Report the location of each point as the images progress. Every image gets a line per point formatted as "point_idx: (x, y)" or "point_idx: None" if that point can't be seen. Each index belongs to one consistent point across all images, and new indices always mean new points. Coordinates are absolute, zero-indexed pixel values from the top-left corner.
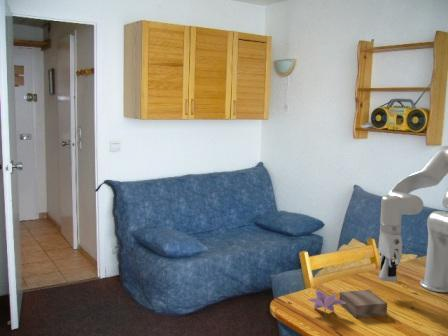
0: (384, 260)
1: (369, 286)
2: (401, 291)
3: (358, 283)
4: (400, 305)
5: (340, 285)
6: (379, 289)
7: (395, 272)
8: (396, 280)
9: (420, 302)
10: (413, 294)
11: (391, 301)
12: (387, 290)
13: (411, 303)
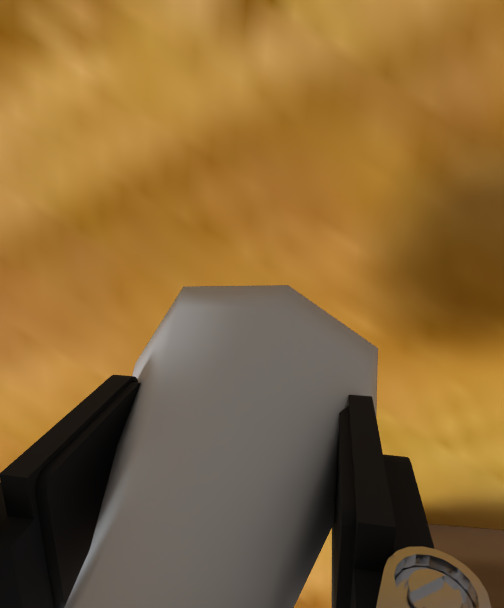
0: (27, 597)
1: (88, 354)
2: (198, 127)
3: (34, 405)
4: (487, 315)
5: None
6: (147, 308)
7: (376, 442)
8: (376, 358)
9: (472, 71)
10: (277, 36)
11: (391, 345)
12: (170, 250)
13: (472, 184)
